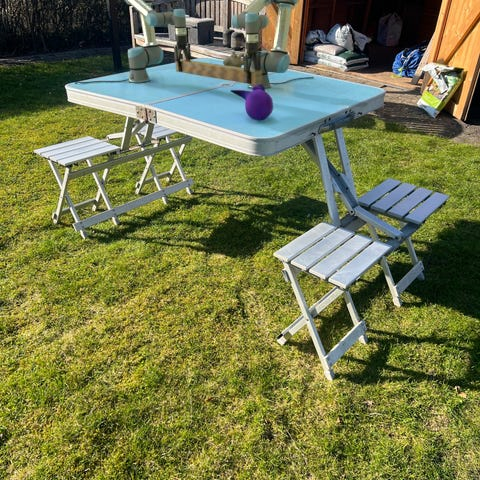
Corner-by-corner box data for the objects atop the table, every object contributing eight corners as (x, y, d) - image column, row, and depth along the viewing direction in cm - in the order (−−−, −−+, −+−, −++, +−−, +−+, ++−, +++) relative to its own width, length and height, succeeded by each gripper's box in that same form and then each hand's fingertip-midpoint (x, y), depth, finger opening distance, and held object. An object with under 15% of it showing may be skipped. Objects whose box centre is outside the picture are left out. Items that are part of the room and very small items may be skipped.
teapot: (226, 73, 360) (226, 53, 352) (220, 71, 368) (219, 51, 361) (249, 70, 369) (249, 50, 361) (242, 68, 377) (242, 49, 370)
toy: (255, 109, 260) (272, 127, 239) (226, 104, 252) (242, 122, 232) (262, 81, 252) (281, 97, 231) (233, 76, 244) (251, 92, 224)
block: (176, 71, 316) (175, 60, 312) (182, 70, 320) (181, 59, 316) (255, 85, 273) (255, 72, 269) (262, 83, 276) (262, 70, 272)
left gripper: (173, 36, 295) (176, 73, 307) (195, 33, 306) (197, 69, 318) (166, 35, 299) (169, 72, 311) (188, 33, 311) (190, 68, 323)
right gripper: (245, 44, 257) (246, 85, 269) (267, 40, 269) (267, 80, 281) (236, 43, 262) (237, 84, 274) (257, 39, 273) (258, 79, 285)
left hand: (183, 70), depth 315 cm, fingers closed on block, 6 cm apart
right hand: (252, 82), depth 277 cm, fingers closed on block, 6 cm apart
